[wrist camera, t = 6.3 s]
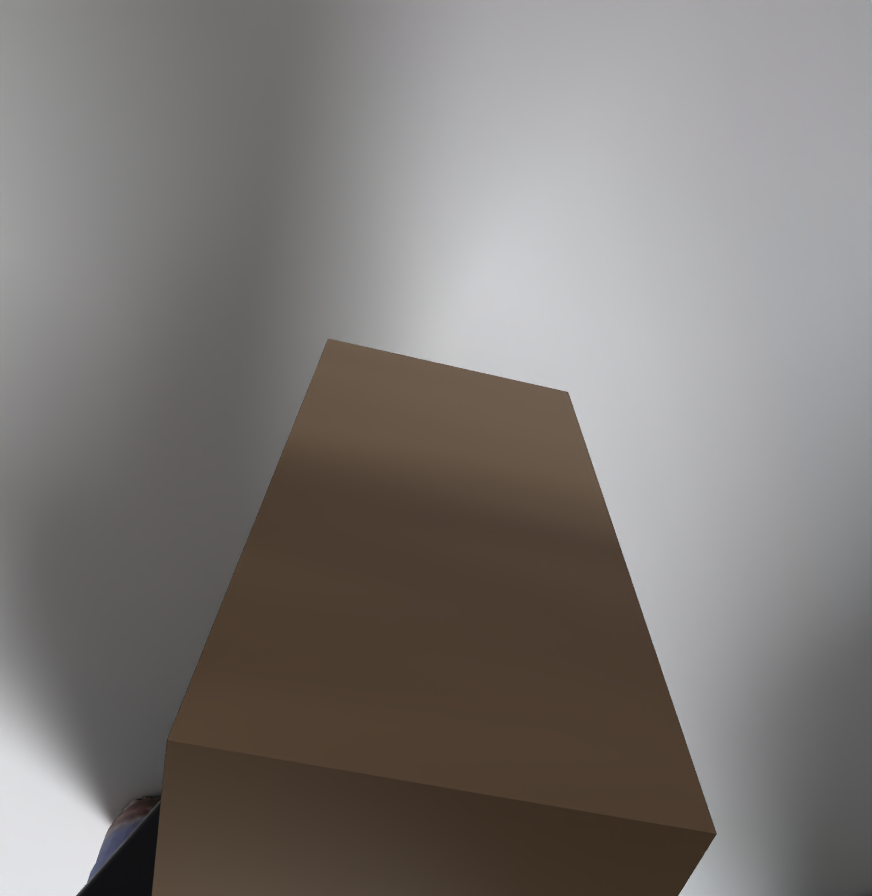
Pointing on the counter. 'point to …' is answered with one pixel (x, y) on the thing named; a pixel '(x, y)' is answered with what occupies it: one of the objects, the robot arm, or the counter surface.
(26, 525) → the counter surface
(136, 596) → the counter surface
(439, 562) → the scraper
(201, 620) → the counter surface
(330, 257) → the counter surface
